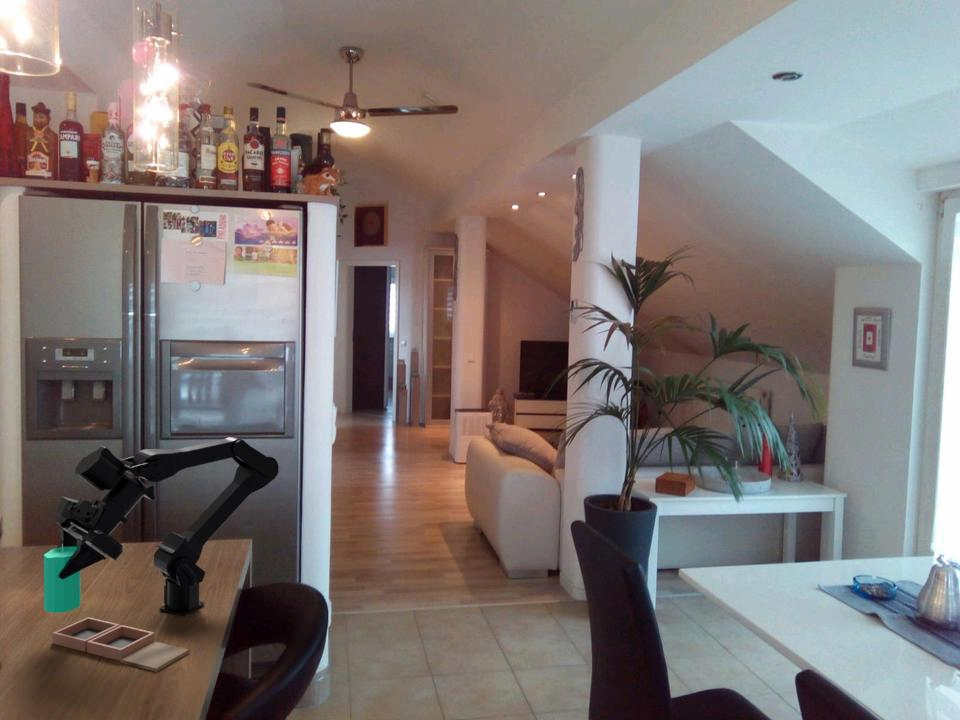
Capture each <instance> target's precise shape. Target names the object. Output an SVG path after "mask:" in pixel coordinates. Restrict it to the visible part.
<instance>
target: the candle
mask: <svg viewBox="0 0 960 720" xmlns="http://www.w3.org/2000/svg"><path fill="white" fill-rule="evenodd" d="M76 549H77V547H63V544H62V547H59V548H57V547H56V548H52V549H50V550H49V551H47V552H46V553H44V554H43V609H44V611H46V612H47V613H51V614H58V613H59V614H60V613H62V614H63V613H67V612H70V611H74V610H76V609H78V608H80V606H81V603H82V602H81V601H82V593H81V591H82V590H81V589H82V586H81V585H82V584H81V583H82V581H81V580H82V575H81V574H82V573H81V570H80V571H78V572H76V573H74V574H72V575H71V576H69V577H67V578H65V579H61V578H59V577H58V575H59V574H60V572H61V570H62V569H63V568H64V567H65V565H66V564H67V562H68V561H69V559H70V558H71V556H72V555H73V554H74V552H75V551H76Z"/></svg>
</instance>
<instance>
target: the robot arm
mask: <svg viewBox="0 0 960 720" xmlns="http://www.w3.org/2000/svg"><path fill="white" fill-rule="evenodd" d="M227 459H232V461H233V462H234V463H236V464H237V465H238V466H237V468H236V470H235V473H234V477H233V480H232V482H230V483H229V485H227V487H226V488H225V489H224V490H223V491H222V492H221V493H220V494H219V495H218V496H217V498H216V499H214V500H213V502H211V504H209V506H208V507H207V508H206V509H205V510H204V511H203V512H202V514H201V515H200V516H199V517H198V518H197V519H195V520H194V521H193V523H192V524H191V525H190V526H189V527H188V528H187V529H186V530H185V531H183V532H181V533H180V534H178V533H176V532H175V531H171V532H170V533H168V534H167V536H166V537H165V538H164V540H163V541H161V543H159V544H157V545H156V548H158V549H156V551H155V553H154V554H153V564H154V567H155V568H156V569H157V570H158V571H160V573H161V575H162V577H164V578H165V583H164V586H163V605H162V606H159V611H162V612H166V613H171V614H175V615H179V616H185V615H187V614H188V613H191V612H192V611H195V610H197V609H198V608H201V607H202V606H204V605H205V602H204V601H200V583H203V581H204V577H205V576H206V571H205V570H203V568H201V567H200V566H199V565H197V563H198V561H199V560H200V558H201V556H202V551H203V549H204V546H205V545H206V543H207V542H208V541H209V540H210V539H211V538H212V537H213V536H214V535H215V533H217V531H218V530H219V529H220V528H221V527H222V526H223V525H224V524H225V523H226V521H228V519H229V518H231V516H232V515H233V514H234V513H235V512H236V511H237V510H238V508H240V506H241V505H242V504H243V503H244V502H245V500H246V499H247V498H248V497H249V496H250V495H252V494H253V493H254V494H255V493H256V492H258V491H260V490H262V489H264V488H265V487H267V486H268V485H269V484H270V483H271V482H272V481H273V482H274V480H275V479H276V478H277V477H278V475H279V467H280V466H279V462H278V461H277V459H276V458H274V457H271V456H268V455H266V454H263V453H261V452H260V451H259V450H257V449H256V448H254V447H253V446H251V445H250V444H248V443H247V442H246V441H245V440H244V439H243V438H242V439H241V438H238V437H235V436H228V437H226V438H224V439H219V440H213V441H209V442H205V443H200V444H196V445H190V446H185V447H181V448H176V449H175V448H171V449H169V448H168V449H167V448H151V449H148V448H145V449H142V450H139V451H137V452H135V455H134V456H133V455H132V456H130V457H126V458H122V459H119V458H118V457H117V456H115V455H114V454H113V453H112V452H111V451H110V449H108V448H107V447H106V446H100V447H99V448H98V449H97V450H95V451H93V452H91V453H89V454H88V455H87V456H84V457H83V458H81V460H79V462H78V463H77V465H76V467H75V469H74V474H76V475H77V476H78V477H80V478H81V479H82V480H84V481H85V482H86V483H87V484H89V485H90V486H91V487H92V488H94V489H95V490H97V492H103V491H105V490H106V491H107V492H106V493H105V494H104V495H103V496H102V497H101V498H100V499H99V498H97V497H96V498H94V499H92V500H91V501H90V500H86V499H84V498H80V499H79V500H78V499H74V498H69V497H66V496H61V498H60V499H59V502H58V504H57V506H56V508H55V510H54V514H58V515H59V516H58V517H57V518H56V519H55V520H54V522H55V523H57V525H59V527H58V531H59V536H60V537H59V538H60V540H59V542H58V545H57V547H56V548H59V547H62V544H63V547H77V549H76V551H75V552H74V554H73V555H72V556H71V558H70V559H69V561H68V562H67V564H66V565H65V567H64V568H63V569H62V570H61V572H60V574H59V575H58V577H59V578H61V579H65V578H67V577H69V576H71V575H72V574H74V573H76V572H78V571H80V570H84V569H85V568H88V567H90V566H92V565H94V564H96V563H99V562H101V561H103V560H104V561H105V560H106V559H107V557H108V558H111V559H112V560H113V561H117V559H118V558H119V557H120V556H121V555H122V553H123V550H124V548H123V547H124V545H123V544H121V543H120V542H119V541H117V540H116V539H114V537H113V536H111V534H112V533H113V531H114V530H115V529H116V528H117V527H118V526H119V524H120V523H121V524H123V525H125V524H126V523H127V522H128V518H126V517H127V515H129V513H130V512H131V511H132V509H134V508H135V506H137V504H138V503H139V501H141V500H142V498H147V499H148V500H151V501H155V499H156V497H155V486H154V485H152V484H145V483H144V482H143V481H141V480H140V479H138V478H141V479H143V480H145V481H148V482H150V483H158V482H162V481H164V480H167V479H168V478H171V477H175V475H177V474H178V473H180V472H181V471H183V470H185V469H189V468H193V467H197V466H201V465H206V464H210V463H214V462H215V463H216V462H218V461H223V460H227ZM125 473H127V474H129V475H132V476H134V477H128V476H127V475H126V474H125ZM60 526H61V527H60ZM105 555H106V556H107V557H106V556H105Z"/></svg>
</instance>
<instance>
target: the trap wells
mask: <svg viewBox="0 0 960 720" xmlns="http://www.w3.org/2000/svg"><path fill="white" fill-rule="evenodd" d="M51 634H52V640H51V641H52V643H51V644H53V645H57V646H61V647H66V648H68V649H73V650H76V651H80V652H86V653H89V654H92V655H96V656H100V657H104V658H108V659H113V660H116V661H120V662H121V659H123V658H124V657H126V656H128V655H130V654H132V653H134V652H136V651H138V650H139V649H141V648H143V647H145V646H147V645H149V644H151V643H153V642H154V641H155V638H156V637H155V634H156V633H155V632H153V631H149V630H144V629H140V628H137V627H132V626H129V625H128V626H127V625H124V624H123V625H122V624H119V623H117V622H116V623H115V622H111V621H106V620H102V619H98V618H94V617H89V616H88V617H85V618H83V619H80V620H79V621H77V622H74V623H72V624H70V625H67V626H65V627H63V628H61V629H58V630H56V631H53V632H52V633H51ZM155 642H156V641H155Z"/></svg>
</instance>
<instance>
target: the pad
mask: <svg viewBox="0 0 960 720" xmlns="http://www.w3.org/2000/svg"><path fill="white" fill-rule="evenodd" d="M189 652H190V649H187V648H184V647H180V646H177V645H176V646H175V645H171V644H167V643H163V642H158V641H154V642H153V643H151V644H149V645H147V646H145V647H143V648H141V649H139V650H138V651H136V652H134V653H132V654H130V655H128V656H126V657H124V658H123V659H121V661H120V663H121V664H124V665H128V666H133V667H136V668H139V669H143V670H148V671H151V672H156V673H157V672H159V671H160V670H162V669H163V668H165V667H166V666H169V665H170V664H172V663H174V662H175V661H177V660H179V659H180V658H182V657H184V656H186V655H188V654H190V653H189Z"/></svg>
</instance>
